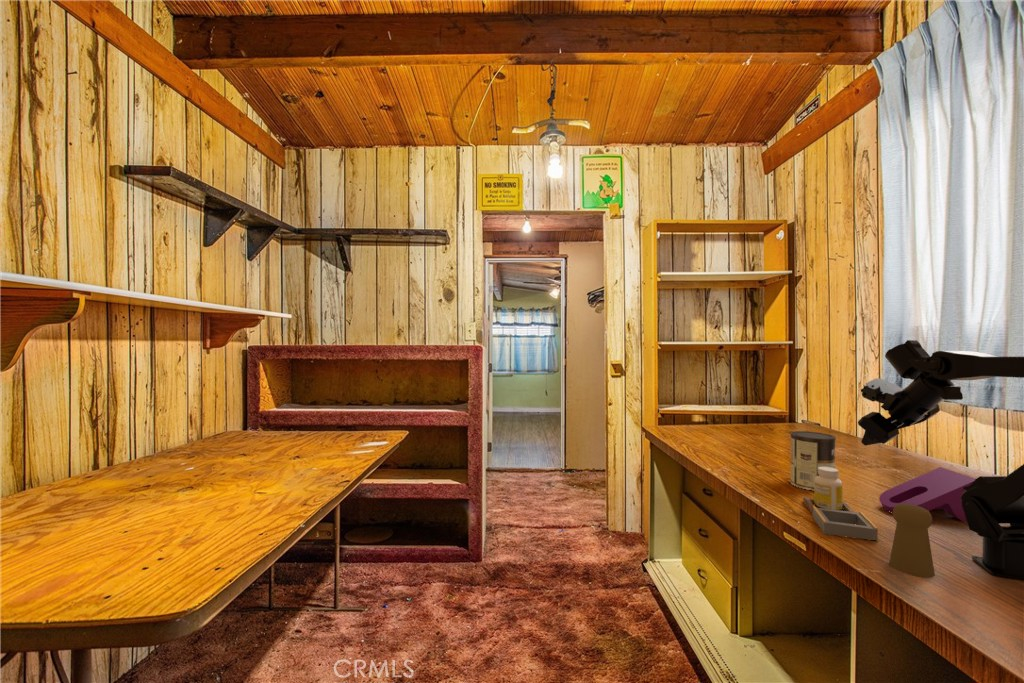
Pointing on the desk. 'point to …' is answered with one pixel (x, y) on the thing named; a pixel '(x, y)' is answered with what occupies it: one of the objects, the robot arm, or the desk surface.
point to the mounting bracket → (931, 492)
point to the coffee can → (810, 456)
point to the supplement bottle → (828, 489)
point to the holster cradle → (810, 505)
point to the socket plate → (845, 523)
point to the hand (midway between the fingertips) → (876, 436)
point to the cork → (912, 541)
